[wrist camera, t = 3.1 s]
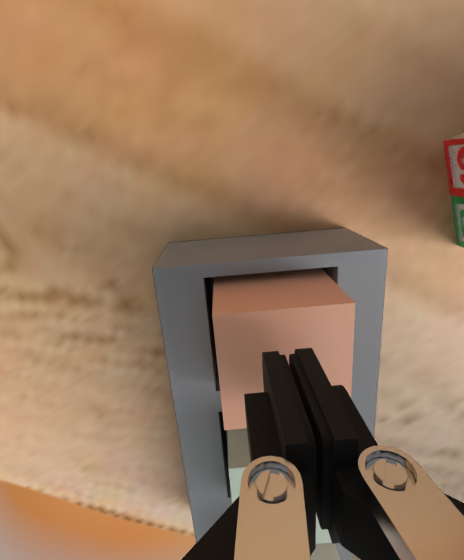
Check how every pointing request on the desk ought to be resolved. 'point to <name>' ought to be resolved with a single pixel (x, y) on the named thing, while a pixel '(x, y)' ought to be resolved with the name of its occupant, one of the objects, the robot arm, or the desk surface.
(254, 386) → the terracotta button
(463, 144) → the stack of blocks
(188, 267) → the frame
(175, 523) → the desk surface
